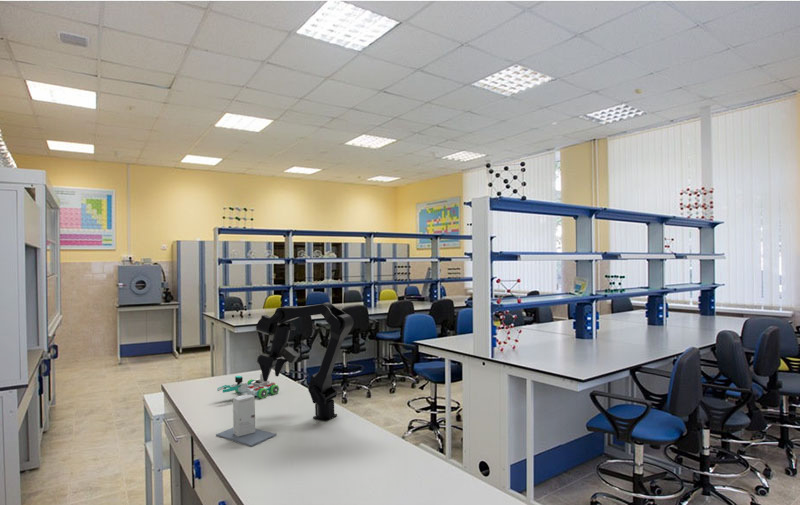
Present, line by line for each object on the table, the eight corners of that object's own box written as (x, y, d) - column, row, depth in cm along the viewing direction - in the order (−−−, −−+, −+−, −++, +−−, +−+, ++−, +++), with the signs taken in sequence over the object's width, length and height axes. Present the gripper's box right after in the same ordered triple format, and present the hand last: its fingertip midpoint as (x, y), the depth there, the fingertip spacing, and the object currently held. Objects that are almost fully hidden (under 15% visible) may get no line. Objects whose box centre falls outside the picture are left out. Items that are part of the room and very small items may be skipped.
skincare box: (238, 437, 145) (237, 400, 145) (232, 433, 149) (231, 397, 149) (256, 432, 149) (255, 395, 150) (250, 428, 153) (249, 393, 153)
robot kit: (209, 400, 188) (208, 378, 188) (258, 386, 208) (258, 366, 208) (236, 408, 177) (235, 384, 177) (285, 391, 197) (284, 370, 198)
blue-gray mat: (276, 435, 147) (276, 433, 147) (251, 446, 139) (251, 445, 139) (241, 425, 157) (241, 424, 157) (216, 435, 149) (216, 434, 149)
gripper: (288, 347, 159) (278, 390, 159) (309, 340, 178) (300, 379, 177) (261, 339, 162) (251, 381, 161) (283, 334, 180) (275, 371, 180)
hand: (271, 378), depth 170 cm, fingers open, 9 cm apart
